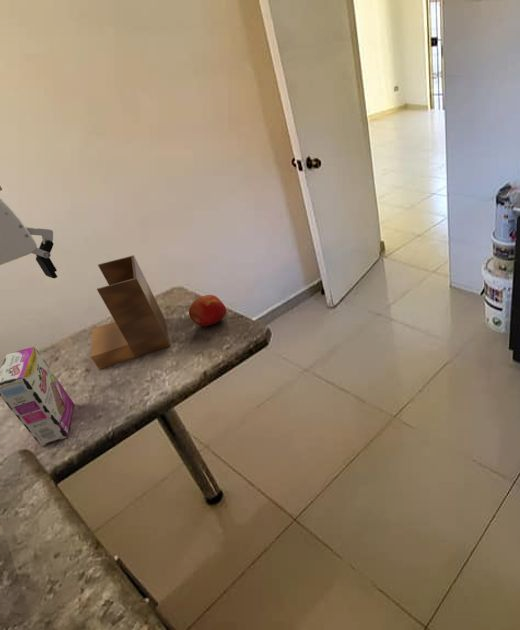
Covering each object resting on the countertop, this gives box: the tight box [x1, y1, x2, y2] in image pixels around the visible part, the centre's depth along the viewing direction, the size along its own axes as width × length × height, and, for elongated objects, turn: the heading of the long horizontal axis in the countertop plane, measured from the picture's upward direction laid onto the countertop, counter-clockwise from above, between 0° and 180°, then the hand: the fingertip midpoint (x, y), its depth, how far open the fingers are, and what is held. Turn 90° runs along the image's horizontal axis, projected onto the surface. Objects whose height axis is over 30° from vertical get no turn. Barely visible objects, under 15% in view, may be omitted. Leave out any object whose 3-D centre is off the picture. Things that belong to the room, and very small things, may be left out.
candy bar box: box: [0, 346, 75, 447], centre depth 86 cm, size 11×5×16 cm, turn 29°
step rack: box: [90, 255, 171, 370], centre depth 108 cm, size 16×15×20 cm
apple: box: [188, 294, 227, 327], centre depth 117 cm, size 8×8×8 cm
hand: (24, 288), depth 81 cm, fingers open, 9 cm apart
